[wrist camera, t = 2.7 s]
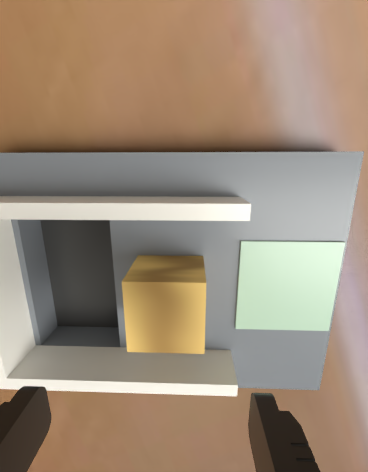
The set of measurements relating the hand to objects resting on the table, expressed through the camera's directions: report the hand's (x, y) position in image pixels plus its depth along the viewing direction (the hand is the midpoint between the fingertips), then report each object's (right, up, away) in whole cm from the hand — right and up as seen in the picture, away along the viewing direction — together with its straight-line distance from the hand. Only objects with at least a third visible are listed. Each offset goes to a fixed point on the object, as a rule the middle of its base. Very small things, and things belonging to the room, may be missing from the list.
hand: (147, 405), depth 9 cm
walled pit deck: (+1, +3, +13) cm, 13 cm away
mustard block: (0, +3, +10) cm, 10 cm away
